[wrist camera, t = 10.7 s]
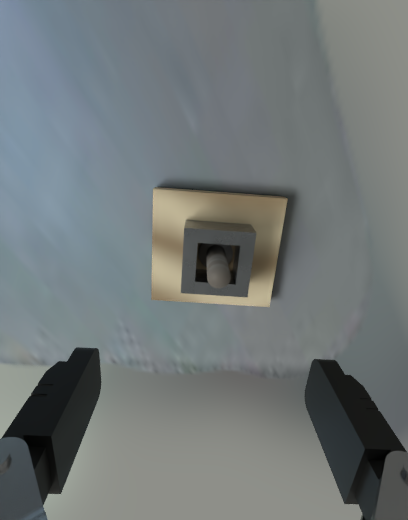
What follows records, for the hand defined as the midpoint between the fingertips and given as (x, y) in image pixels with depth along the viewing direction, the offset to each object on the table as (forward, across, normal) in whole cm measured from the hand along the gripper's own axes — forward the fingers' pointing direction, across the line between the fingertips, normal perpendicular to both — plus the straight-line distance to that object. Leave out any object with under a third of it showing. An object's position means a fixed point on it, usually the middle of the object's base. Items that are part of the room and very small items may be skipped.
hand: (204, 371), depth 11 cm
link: (+18, -1, +2) cm, 18 cm away
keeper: (+19, -1, +2) cm, 19 cm away
